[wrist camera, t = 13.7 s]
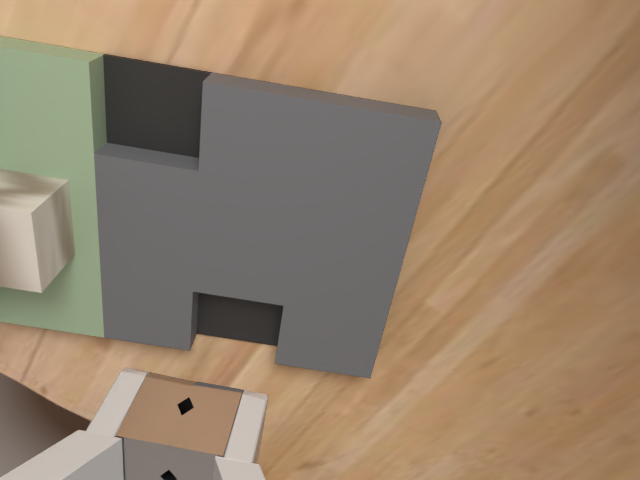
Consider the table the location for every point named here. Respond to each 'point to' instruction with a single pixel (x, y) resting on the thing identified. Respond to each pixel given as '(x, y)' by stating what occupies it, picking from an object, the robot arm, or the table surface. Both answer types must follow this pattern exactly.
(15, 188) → the cream block
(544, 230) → the table surface
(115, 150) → the trap board
